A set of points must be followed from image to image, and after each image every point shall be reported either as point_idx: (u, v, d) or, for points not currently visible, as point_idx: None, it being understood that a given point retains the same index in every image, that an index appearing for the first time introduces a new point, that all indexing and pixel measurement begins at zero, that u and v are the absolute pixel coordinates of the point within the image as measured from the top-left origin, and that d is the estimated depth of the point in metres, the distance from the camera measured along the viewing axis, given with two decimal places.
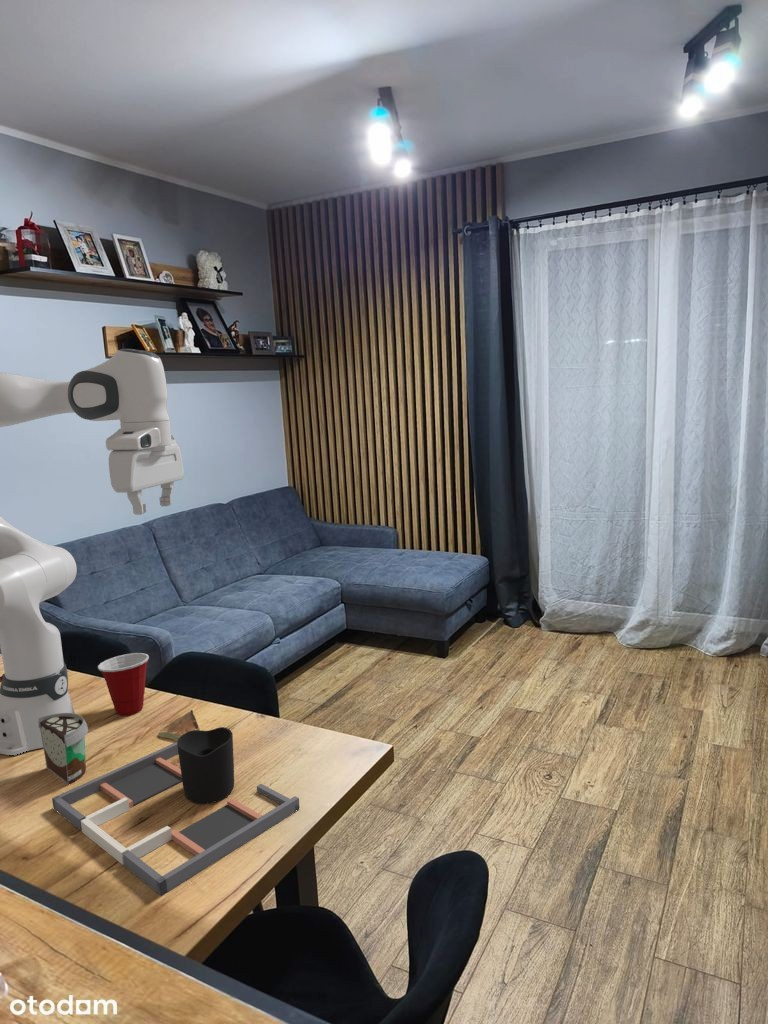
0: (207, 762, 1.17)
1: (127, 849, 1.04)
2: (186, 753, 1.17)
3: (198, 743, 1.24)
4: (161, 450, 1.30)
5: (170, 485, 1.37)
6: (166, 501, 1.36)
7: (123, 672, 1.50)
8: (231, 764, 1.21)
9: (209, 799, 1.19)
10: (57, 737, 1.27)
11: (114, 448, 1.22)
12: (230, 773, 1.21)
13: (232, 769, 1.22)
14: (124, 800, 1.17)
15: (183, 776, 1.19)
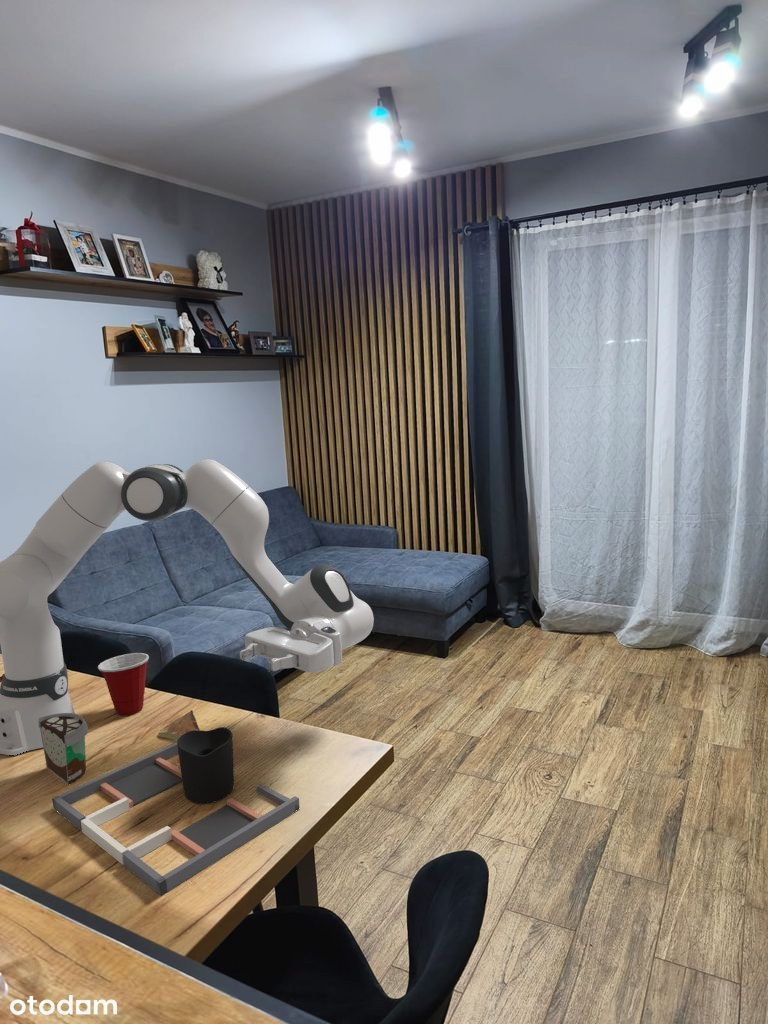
0: (207, 762, 1.17)
1: (127, 849, 1.04)
2: (186, 753, 1.17)
3: (198, 743, 1.24)
4: None
5: (257, 654, 1.35)
6: (248, 657, 1.32)
7: (123, 672, 1.50)
8: (231, 764, 1.21)
9: (209, 799, 1.19)
10: (57, 737, 1.27)
11: (335, 643, 1.32)
12: (230, 773, 1.21)
13: (232, 769, 1.22)
14: (124, 800, 1.17)
15: (183, 776, 1.19)
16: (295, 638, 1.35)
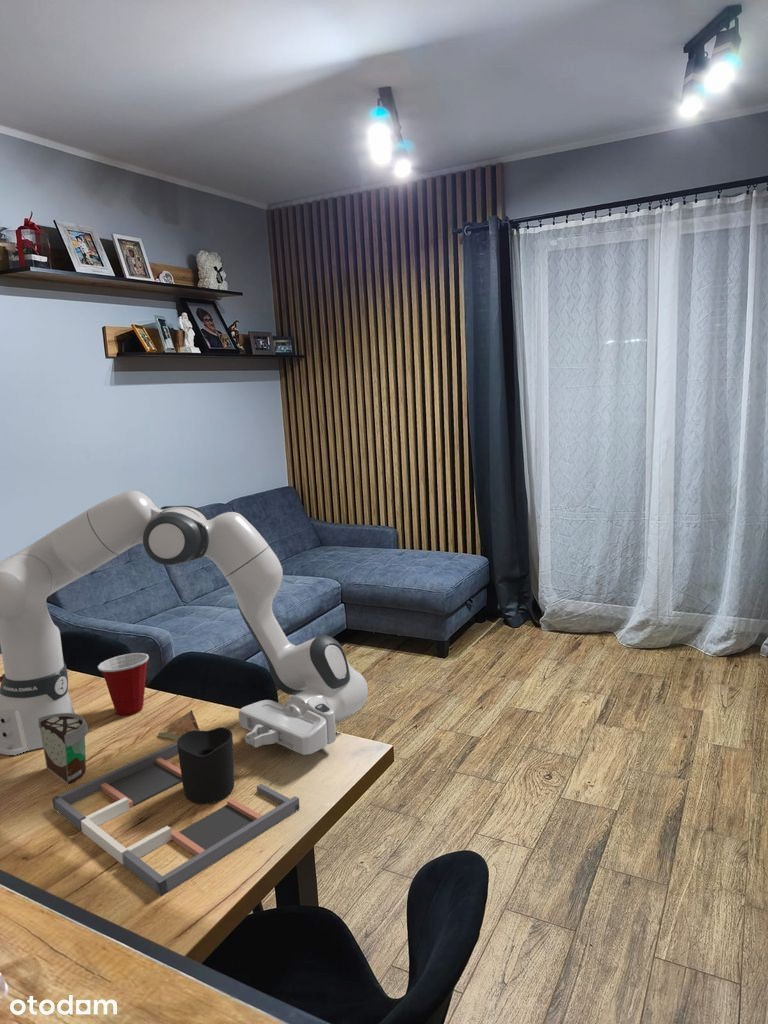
0: (207, 762, 1.17)
1: (127, 849, 1.04)
2: (186, 753, 1.17)
3: (198, 743, 1.24)
4: None
5: None
6: None
7: (123, 672, 1.50)
8: (231, 764, 1.21)
9: (209, 799, 1.19)
10: (57, 737, 1.27)
11: (329, 723, 1.33)
12: (230, 773, 1.21)
13: (232, 769, 1.22)
14: (124, 800, 1.17)
15: (183, 776, 1.19)
16: (289, 715, 1.36)
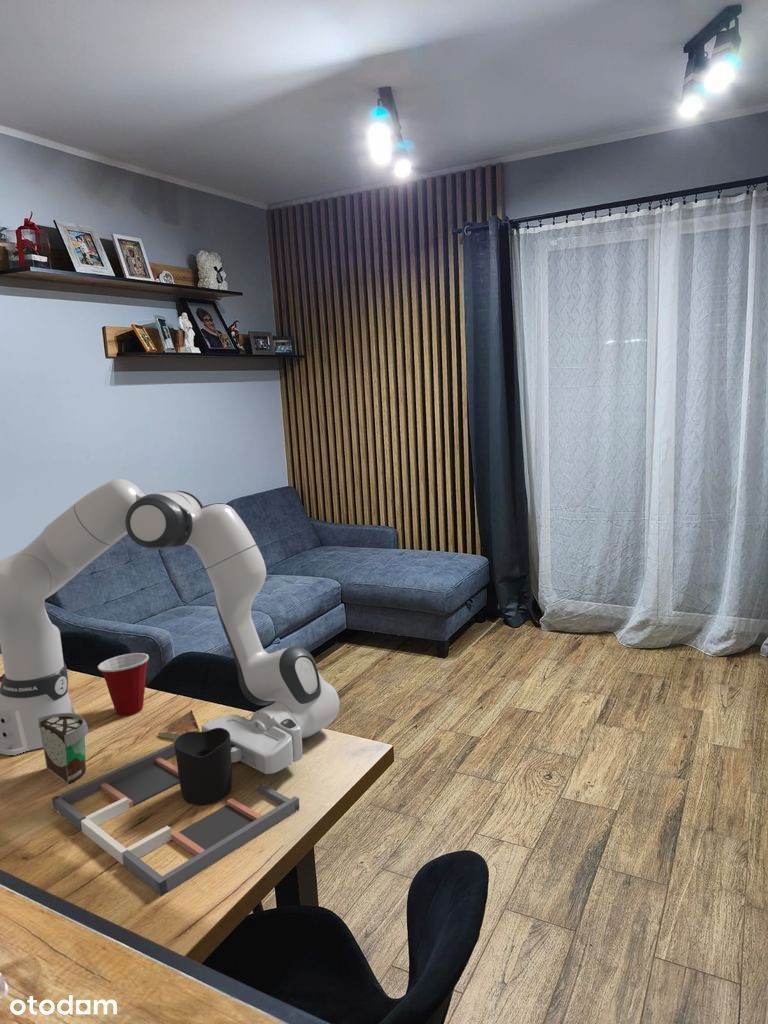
0: (206, 762, 1.17)
1: (127, 849, 1.04)
2: (185, 754, 1.17)
3: (195, 744, 1.23)
4: None
5: None
6: None
7: (123, 672, 1.50)
8: (229, 764, 1.21)
9: (208, 800, 1.18)
10: (57, 737, 1.27)
11: (295, 739, 1.26)
12: (228, 773, 1.21)
13: (230, 769, 1.22)
14: (124, 800, 1.17)
15: (181, 778, 1.19)
16: (254, 731, 1.30)
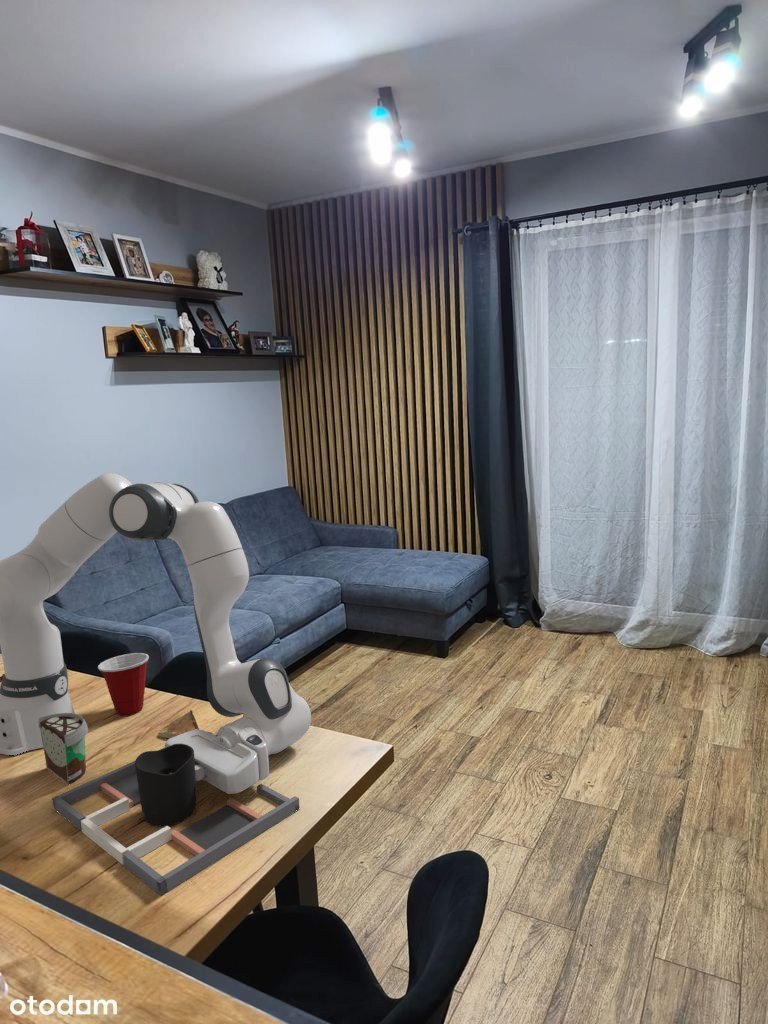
0: (175, 780, 1.12)
1: (127, 849, 1.04)
2: (151, 774, 1.11)
3: (153, 764, 1.17)
4: None
5: None
6: None
7: (123, 672, 1.50)
8: None
9: (177, 819, 1.13)
10: (57, 737, 1.27)
11: (261, 757, 1.20)
12: (194, 789, 1.16)
13: (195, 784, 1.17)
14: (124, 800, 1.17)
15: (146, 800, 1.12)
16: (218, 748, 1.24)
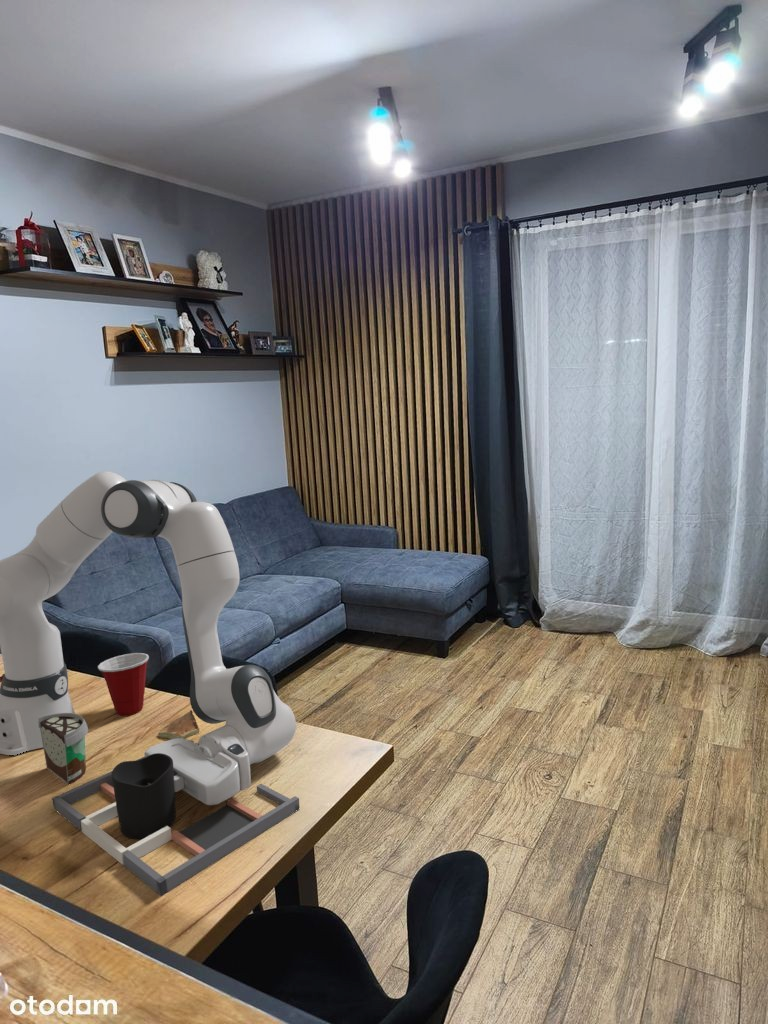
0: (152, 791, 1.09)
1: (127, 849, 1.04)
2: (128, 786, 1.08)
3: (131, 775, 1.14)
4: None
5: None
6: None
7: (123, 672, 1.50)
8: (174, 790, 1.14)
9: (155, 831, 1.10)
10: (57, 737, 1.27)
11: (242, 767, 1.17)
12: (173, 800, 1.13)
13: (174, 795, 1.14)
14: None
15: (123, 812, 1.09)
16: (199, 757, 1.21)
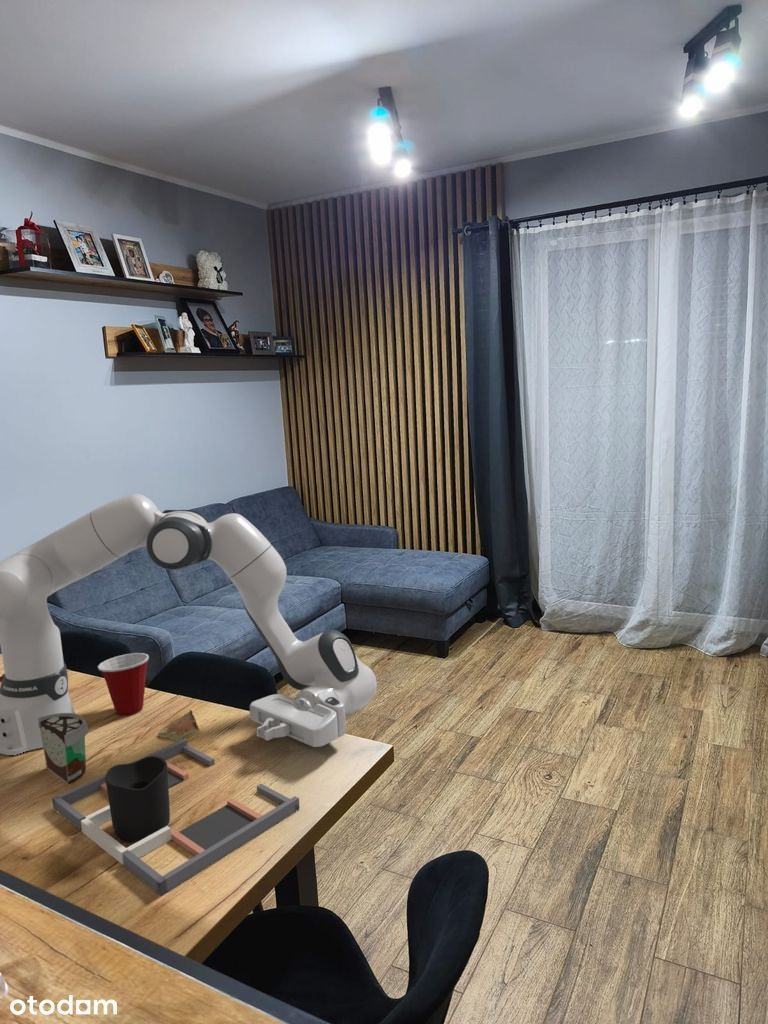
0: (146, 794, 1.08)
1: (127, 849, 1.04)
2: (122, 789, 1.07)
3: (125, 778, 1.13)
4: None
5: None
6: None
7: (123, 672, 1.50)
8: (168, 793, 1.13)
9: None
10: (57, 737, 1.27)
11: (339, 715, 1.34)
12: (167, 803, 1.13)
13: (168, 798, 1.13)
14: None
15: (116, 816, 1.09)
16: (299, 708, 1.38)
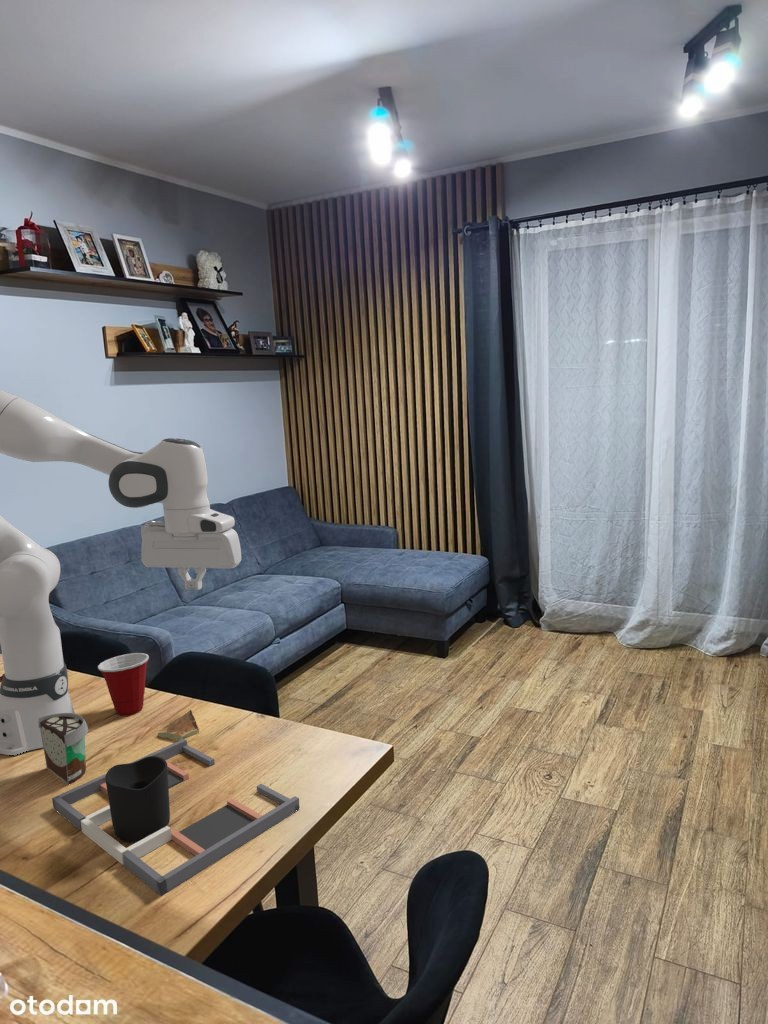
0: (146, 794, 1.08)
1: (127, 849, 1.04)
2: (122, 789, 1.07)
3: (125, 778, 1.13)
4: None
5: None
6: None
7: (123, 672, 1.50)
8: (168, 793, 1.13)
9: None
10: (57, 737, 1.27)
11: (225, 529, 1.34)
12: (167, 803, 1.13)
13: (168, 798, 1.13)
14: None
15: (116, 816, 1.09)
16: (186, 542, 1.36)
